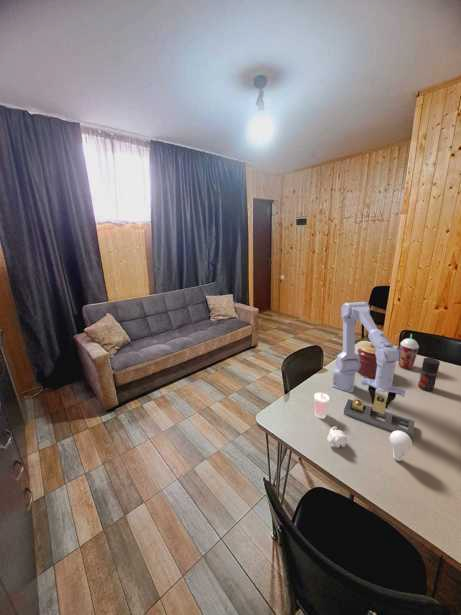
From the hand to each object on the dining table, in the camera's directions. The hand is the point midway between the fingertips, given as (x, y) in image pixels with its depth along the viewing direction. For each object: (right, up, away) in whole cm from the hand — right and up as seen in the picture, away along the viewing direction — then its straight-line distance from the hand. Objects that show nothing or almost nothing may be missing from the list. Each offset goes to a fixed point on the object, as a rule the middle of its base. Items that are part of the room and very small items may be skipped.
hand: (379, 404), depth 99 cm
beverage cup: (-22, -7, +6) cm, 24 cm away
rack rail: (0, -7, +2) cm, 7 cm away
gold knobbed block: (-6, -6, +7) cm, 11 cm away
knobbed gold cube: (0, -2, +1) cm, 3 cm away
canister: (+16, +4, +36) cm, 40 cm away
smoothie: (+39, +6, +40) cm, 56 cm away
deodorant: (+35, 0, +21) cm, 41 cm away
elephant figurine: (-21, -11, -9) cm, 25 cm away
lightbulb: (-4, -13, -15) cm, 20 cm away
